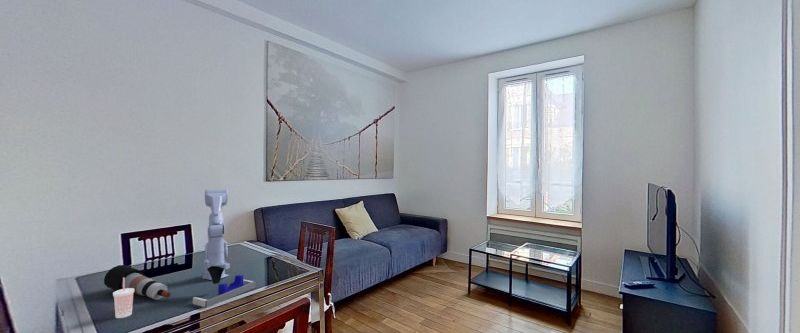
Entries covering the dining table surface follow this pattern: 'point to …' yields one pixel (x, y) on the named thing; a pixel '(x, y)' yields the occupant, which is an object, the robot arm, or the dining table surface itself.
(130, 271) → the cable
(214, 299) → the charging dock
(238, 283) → the cable clip
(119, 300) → the beverage cup
